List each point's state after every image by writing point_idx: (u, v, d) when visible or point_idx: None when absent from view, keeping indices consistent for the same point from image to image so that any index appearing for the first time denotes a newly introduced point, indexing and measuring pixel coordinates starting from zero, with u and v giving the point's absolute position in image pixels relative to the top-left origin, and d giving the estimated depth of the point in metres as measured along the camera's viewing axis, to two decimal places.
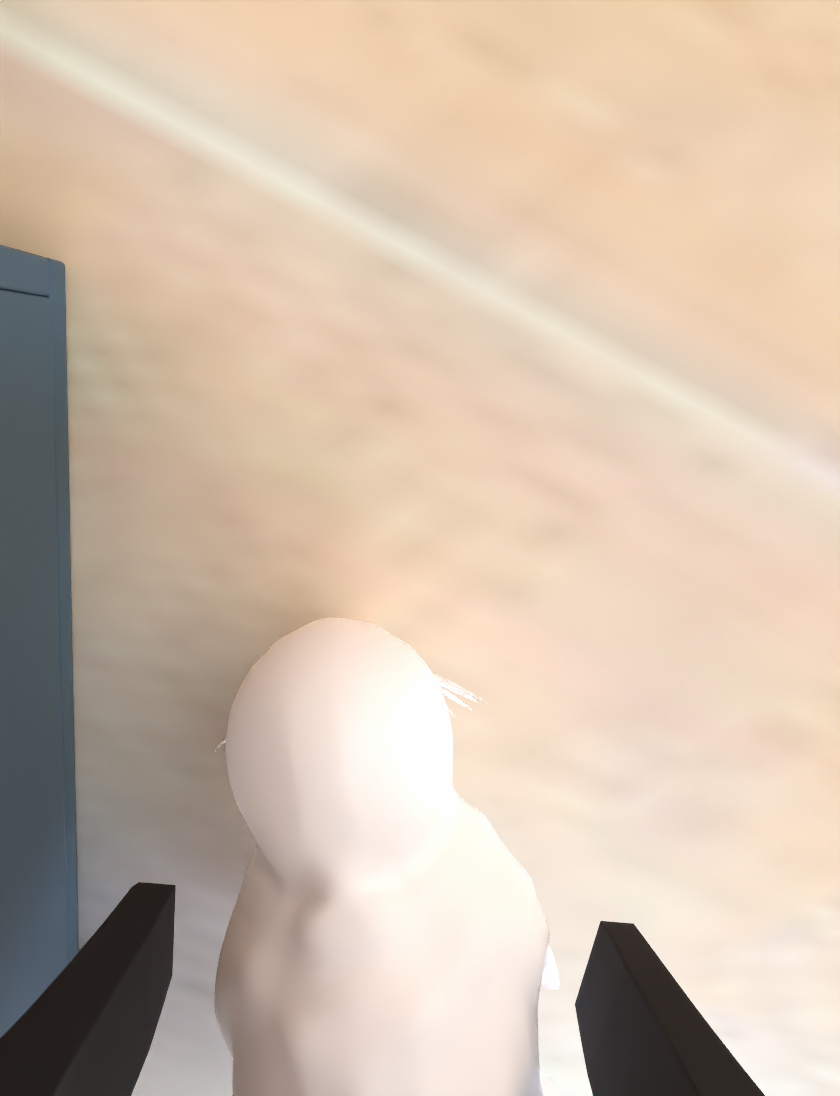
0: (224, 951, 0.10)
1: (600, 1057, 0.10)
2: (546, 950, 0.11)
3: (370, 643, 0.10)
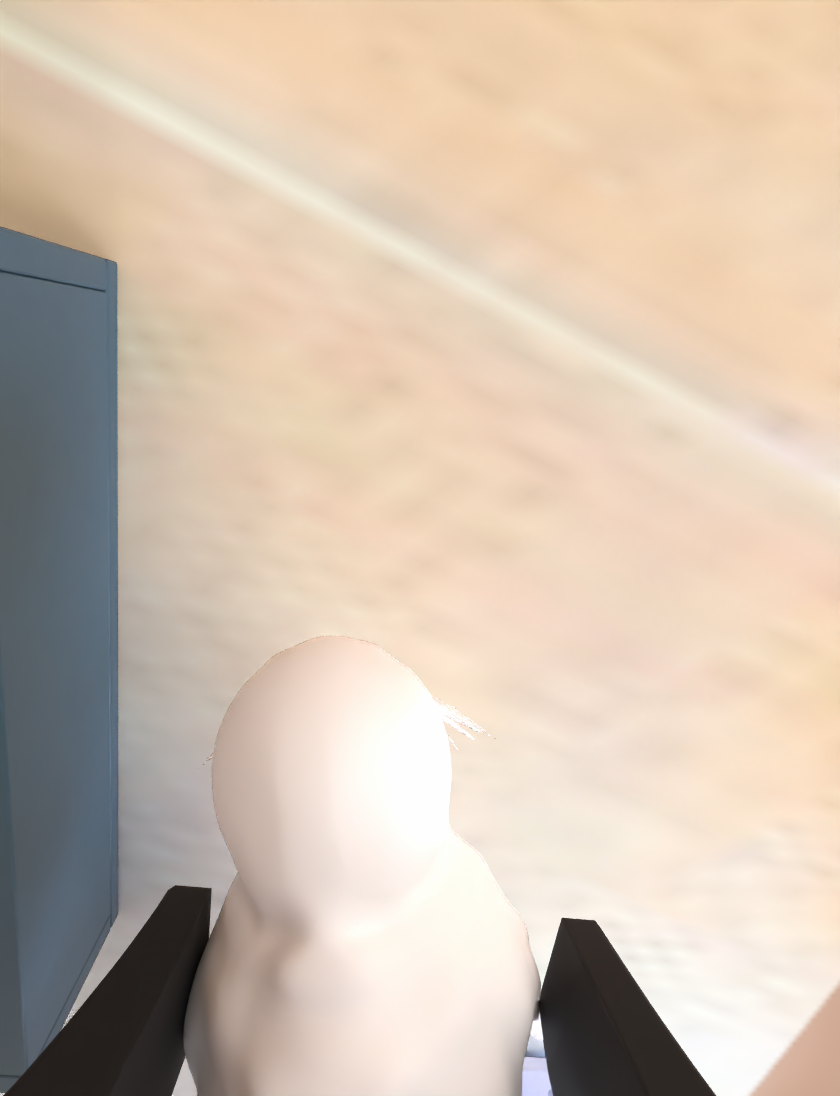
0: (197, 980, 0.09)
1: (558, 1055, 0.10)
2: None
3: (370, 668, 0.09)
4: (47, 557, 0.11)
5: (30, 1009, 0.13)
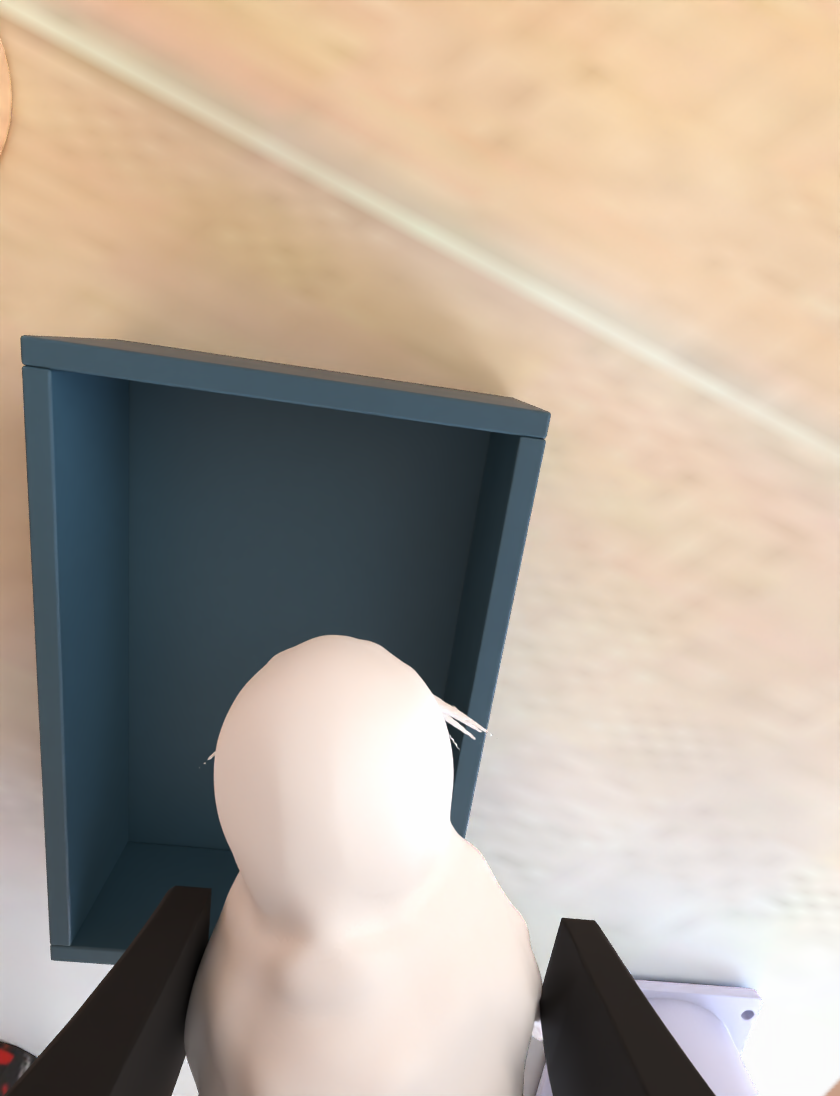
0: (198, 980, 0.09)
1: (558, 1054, 0.10)
2: None
3: (373, 668, 0.09)
4: None
5: None
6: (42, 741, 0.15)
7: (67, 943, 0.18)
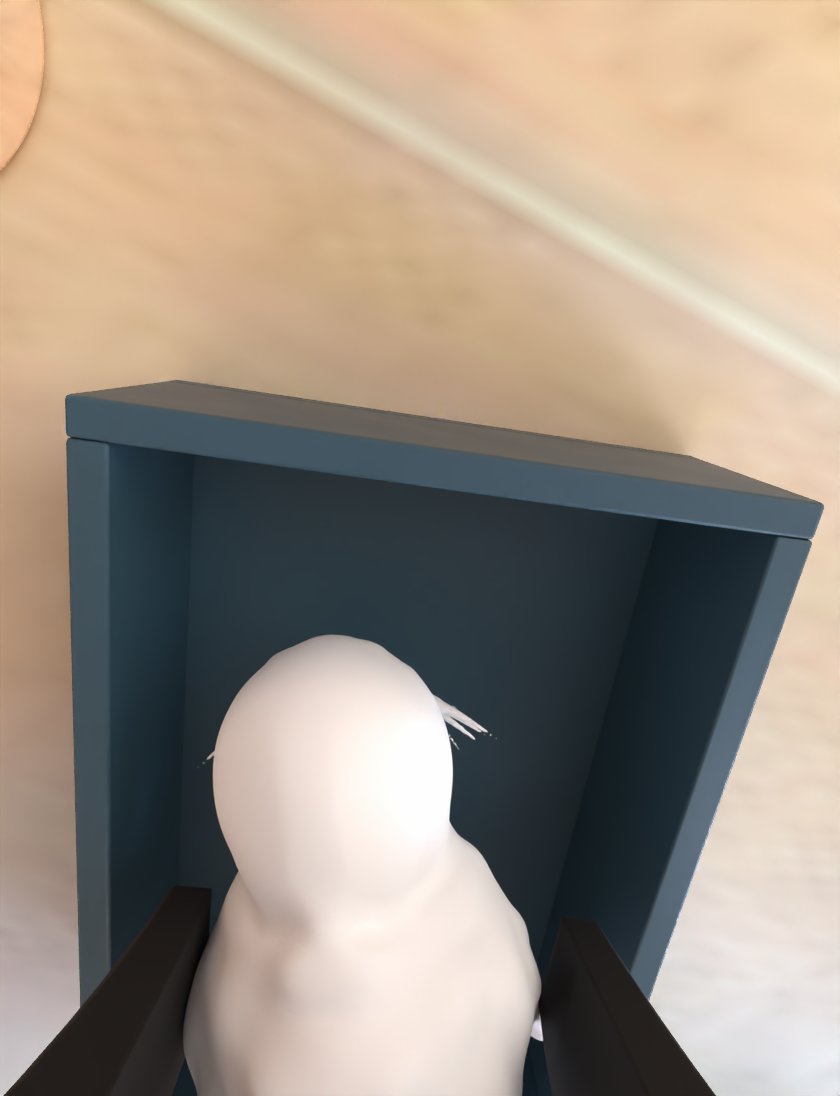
0: (197, 979, 0.09)
1: (558, 1054, 0.10)
2: None
3: (372, 667, 0.09)
4: None
5: None
6: (81, 932, 0.11)
7: None
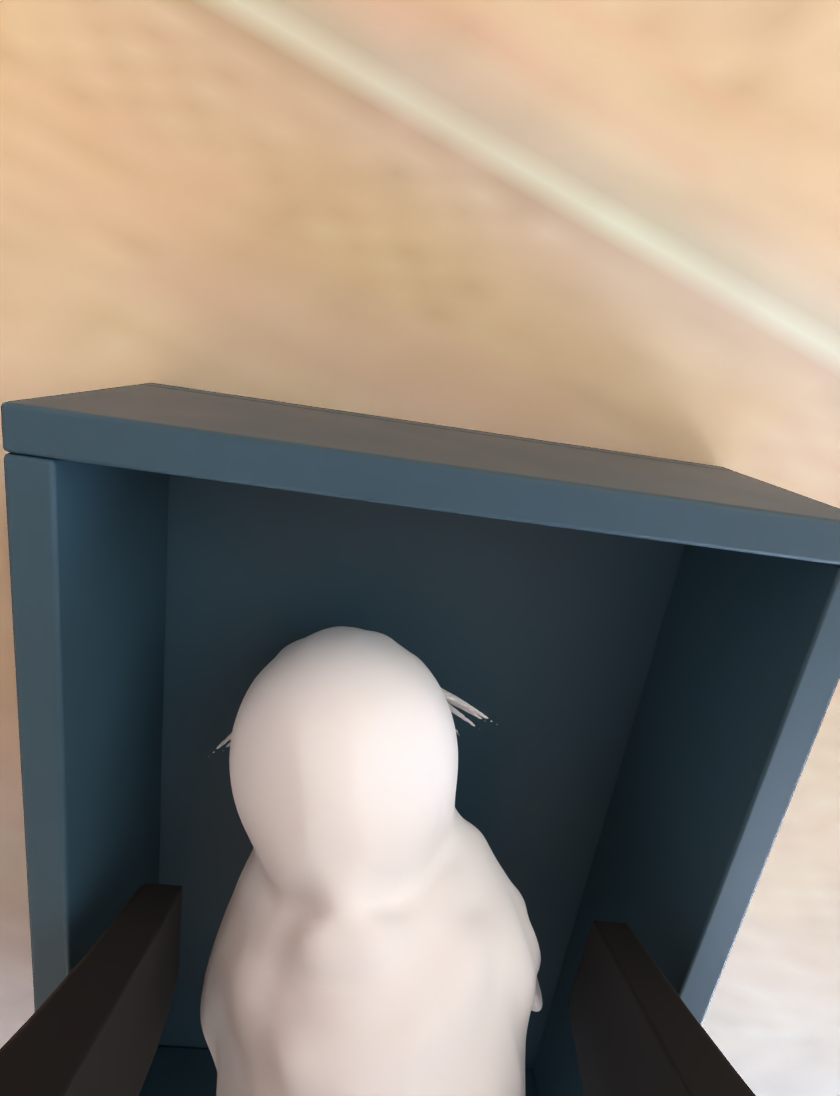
0: (214, 959, 0.10)
1: (591, 1057, 0.10)
2: None
3: (384, 657, 0.09)
4: None
5: None
6: None
7: None
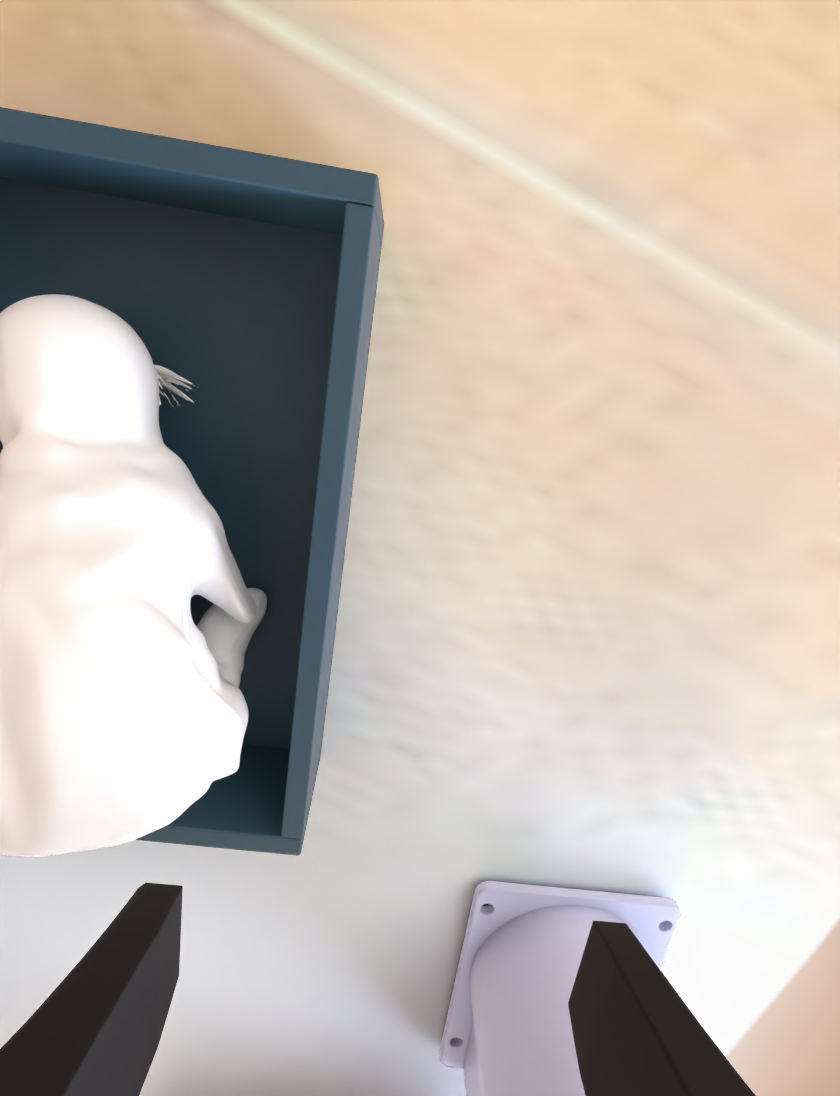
0: None
1: (591, 1057, 0.10)
2: (224, 566, 0.16)
3: (86, 301, 0.14)
4: (353, 429, 0.15)
5: (308, 783, 0.17)
6: None
7: None
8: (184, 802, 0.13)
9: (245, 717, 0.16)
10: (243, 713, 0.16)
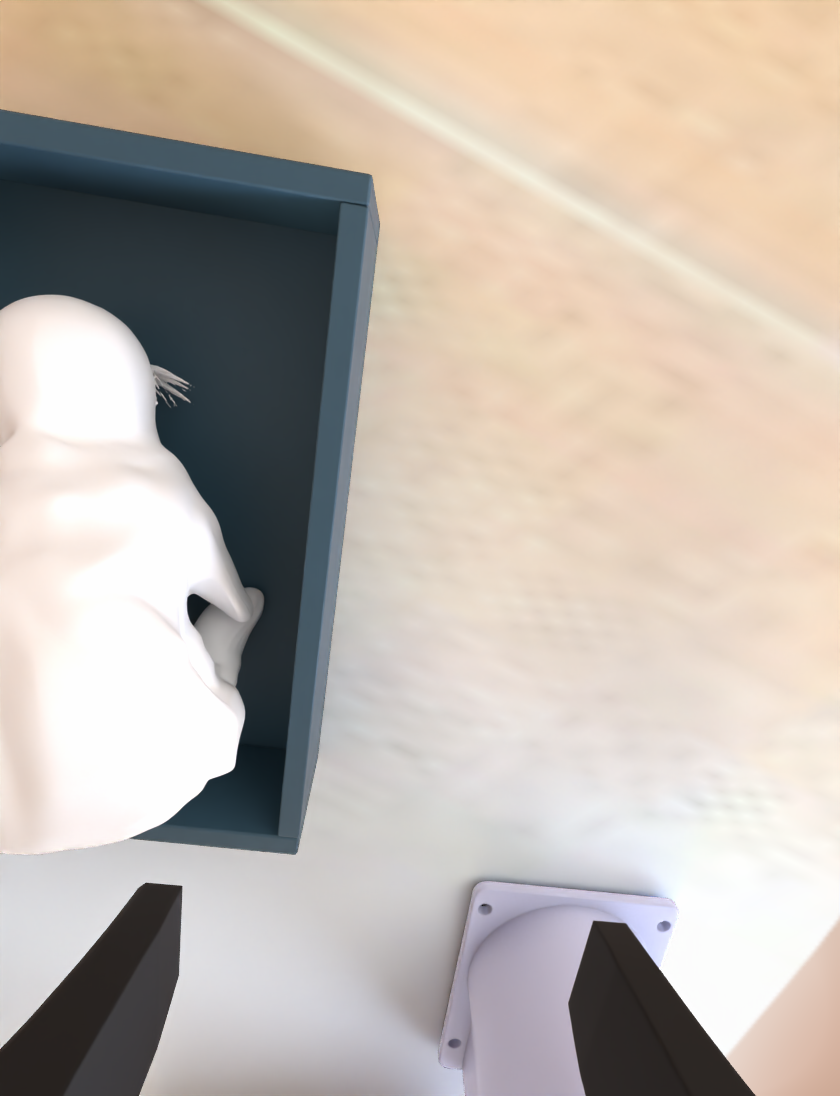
0: None
1: (591, 1057, 0.10)
2: (220, 565, 0.16)
3: (82, 301, 0.14)
4: (349, 428, 0.15)
5: (305, 782, 0.17)
6: None
7: None
8: (179, 800, 0.13)
9: (241, 716, 0.16)
10: (240, 712, 0.16)
